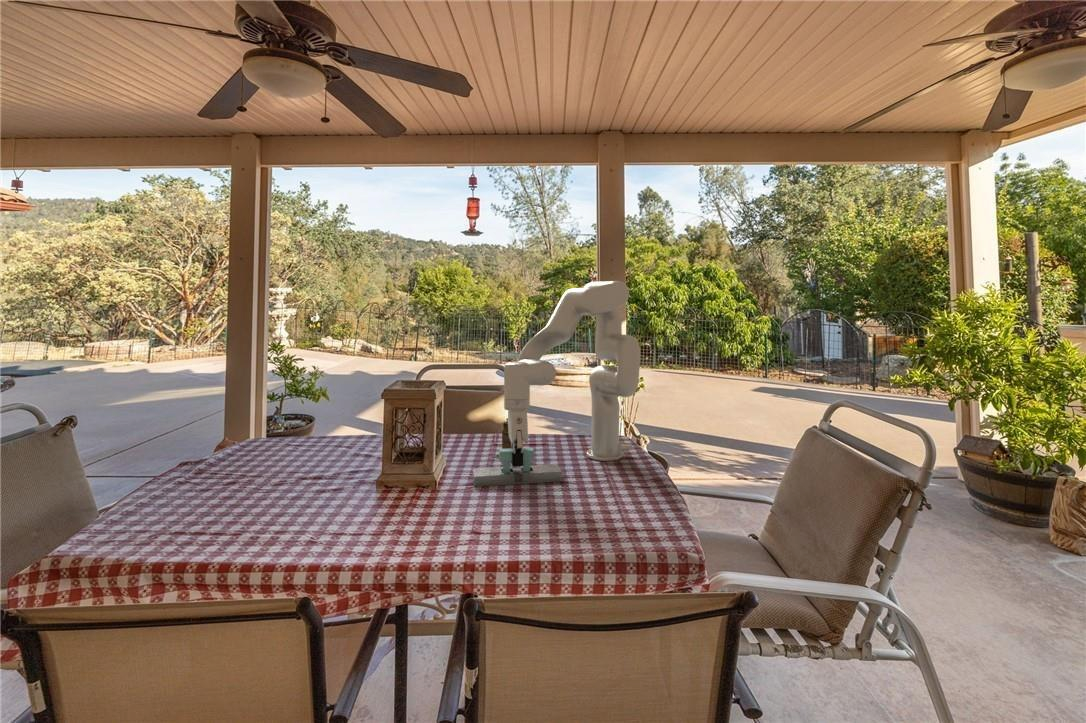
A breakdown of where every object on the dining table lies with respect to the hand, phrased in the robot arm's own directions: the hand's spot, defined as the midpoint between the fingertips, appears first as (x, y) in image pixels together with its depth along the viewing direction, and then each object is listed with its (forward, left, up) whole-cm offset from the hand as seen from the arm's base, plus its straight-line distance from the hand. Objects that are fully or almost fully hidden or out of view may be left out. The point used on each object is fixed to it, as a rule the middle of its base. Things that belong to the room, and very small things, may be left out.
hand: (516, 463), depth 148 cm
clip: (0, 0, -3) cm, 3 cm away
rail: (0, 0, -5) cm, 5 cm away
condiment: (0, -23, -5) cm, 24 cm away
